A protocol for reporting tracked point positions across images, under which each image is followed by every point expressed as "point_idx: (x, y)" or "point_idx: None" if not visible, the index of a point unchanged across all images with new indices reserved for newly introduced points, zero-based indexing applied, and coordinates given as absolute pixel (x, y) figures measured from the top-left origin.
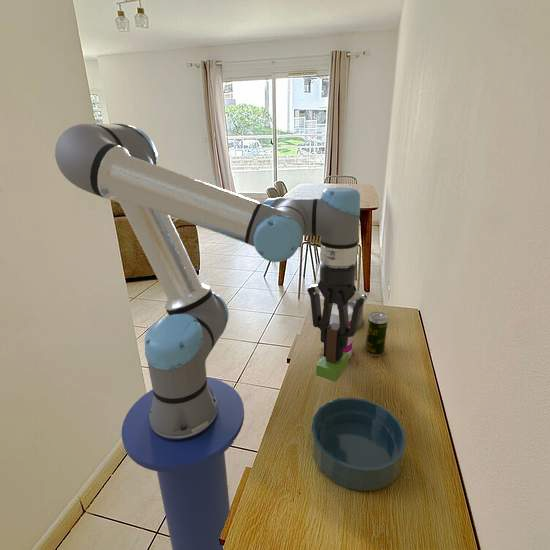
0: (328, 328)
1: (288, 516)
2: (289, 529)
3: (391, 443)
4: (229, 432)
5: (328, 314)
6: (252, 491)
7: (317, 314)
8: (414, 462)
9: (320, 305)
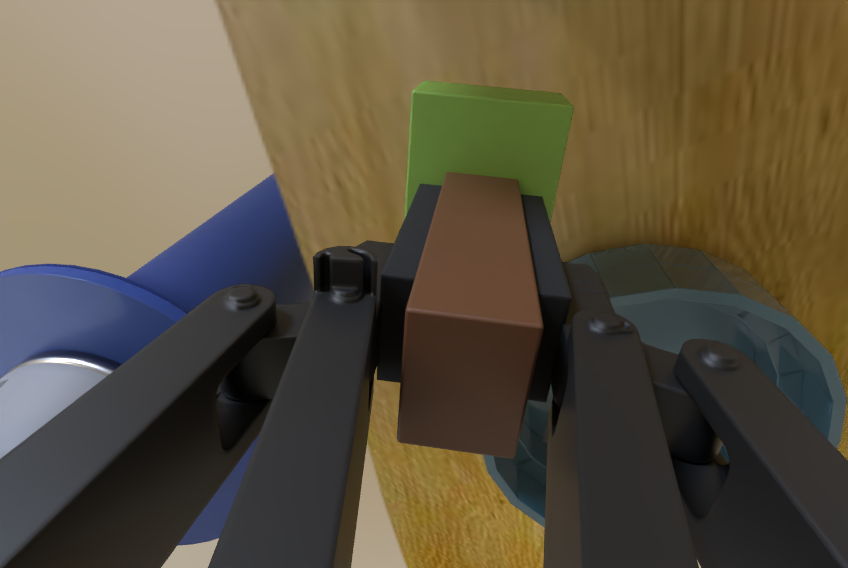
0: (412, 443)
1: (496, 541)
2: (507, 557)
3: (760, 350)
4: (254, 443)
5: (350, 543)
6: (401, 522)
7: (198, 499)
8: (825, 347)
9: (98, 483)
